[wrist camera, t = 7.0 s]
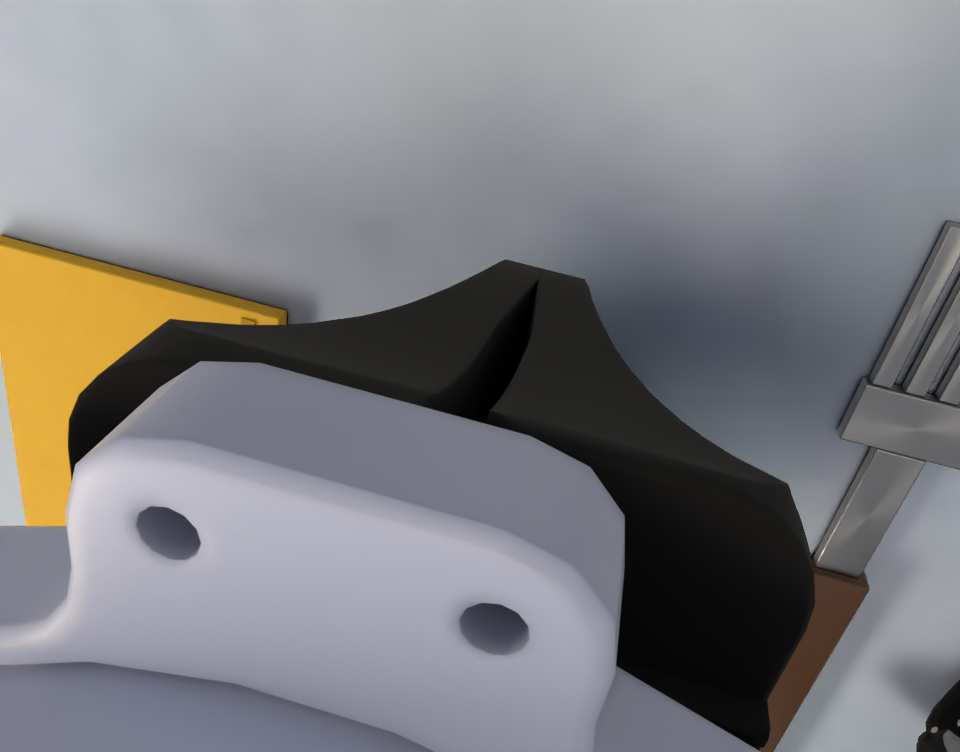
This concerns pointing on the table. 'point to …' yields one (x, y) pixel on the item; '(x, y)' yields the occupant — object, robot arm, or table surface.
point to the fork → (881, 469)
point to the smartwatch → (943, 725)
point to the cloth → (79, 348)
